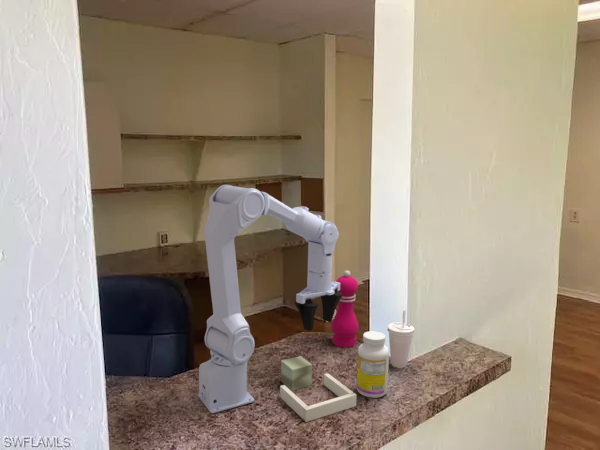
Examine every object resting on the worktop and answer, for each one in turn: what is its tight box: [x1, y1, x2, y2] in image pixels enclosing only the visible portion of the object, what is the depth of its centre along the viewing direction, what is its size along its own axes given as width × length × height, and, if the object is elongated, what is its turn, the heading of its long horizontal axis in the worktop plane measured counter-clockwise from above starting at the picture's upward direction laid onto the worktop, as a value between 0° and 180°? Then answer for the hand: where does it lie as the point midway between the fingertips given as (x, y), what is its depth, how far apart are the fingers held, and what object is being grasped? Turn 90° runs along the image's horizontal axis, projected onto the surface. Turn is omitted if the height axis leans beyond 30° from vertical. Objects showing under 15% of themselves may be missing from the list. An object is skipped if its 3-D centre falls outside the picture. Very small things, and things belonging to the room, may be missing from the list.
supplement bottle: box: [356, 330, 390, 399], centre depth 105 cm, size 7×7×13 cm
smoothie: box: [386, 309, 415, 369], centre depth 118 cm, size 6×6×14 cm
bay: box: [279, 372, 357, 423], centre depth 101 cm, size 12×10×2 cm
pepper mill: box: [330, 270, 359, 348], centre depth 129 cm, size 7×7×20 cm
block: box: [280, 355, 313, 392], centre depth 108 cm, size 5×5×5 cm
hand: (318, 325), depth 117 cm, fingers open, 7 cm apart
